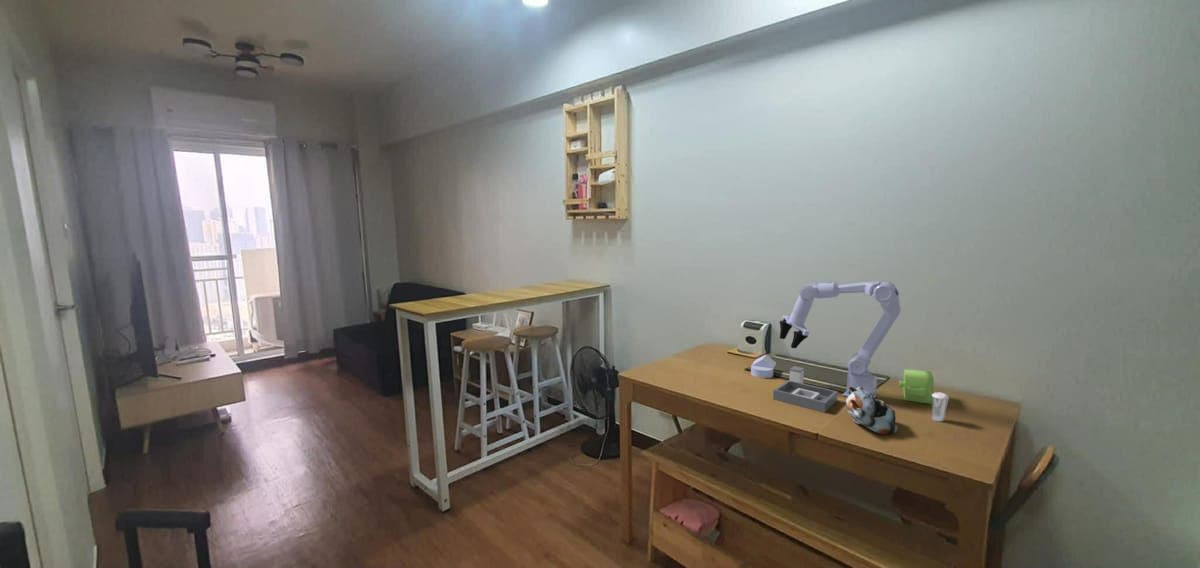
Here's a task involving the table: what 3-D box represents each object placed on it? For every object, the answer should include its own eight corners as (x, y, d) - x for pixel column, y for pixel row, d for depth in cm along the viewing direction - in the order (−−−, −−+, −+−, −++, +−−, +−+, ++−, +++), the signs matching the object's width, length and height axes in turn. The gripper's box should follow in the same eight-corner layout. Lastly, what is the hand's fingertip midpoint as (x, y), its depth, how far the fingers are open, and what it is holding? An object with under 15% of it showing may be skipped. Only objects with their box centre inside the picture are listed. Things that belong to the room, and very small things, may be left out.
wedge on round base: (755, 367, 206) (748, 376, 195) (755, 352, 205) (749, 360, 194) (776, 370, 201) (771, 379, 190) (776, 355, 200) (771, 363, 189)
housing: (837, 400, 168) (837, 391, 167) (824, 412, 158) (825, 403, 157) (787, 388, 180) (788, 380, 179) (773, 399, 170) (773, 390, 169)
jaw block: (803, 384, 184) (804, 368, 183) (799, 387, 181) (800, 370, 180) (792, 382, 186) (793, 366, 185) (789, 385, 183) (789, 368, 182)
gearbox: (897, 388, 181) (898, 364, 180) (928, 391, 176) (929, 367, 175) (899, 403, 165) (900, 377, 164) (933, 407, 160) (934, 381, 159)
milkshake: (927, 414, 155) (929, 386, 154) (946, 419, 152) (949, 390, 150) (925, 419, 152) (928, 390, 150) (946, 423, 148) (949, 394, 147)
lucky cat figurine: (898, 440, 138) (878, 401, 136) (856, 443, 146) (837, 407, 144) (899, 409, 149) (881, 373, 147) (859, 414, 157) (842, 380, 155)
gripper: (781, 304, 186) (769, 333, 190) (803, 319, 173) (790, 351, 177) (795, 306, 188) (783, 335, 192) (818, 321, 175) (805, 352, 179)
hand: (787, 343), depth 185 cm, fingers open, 7 cm apart
